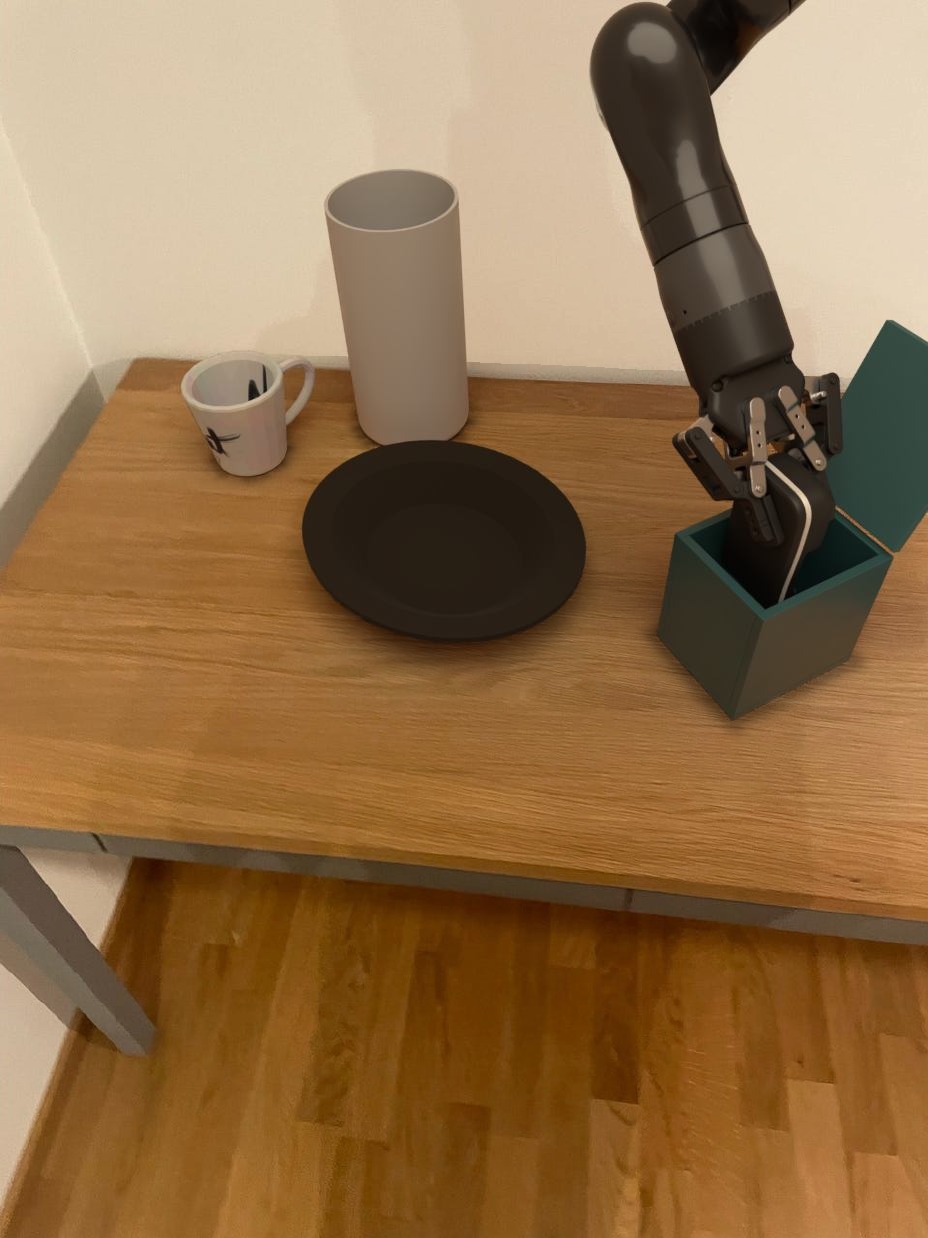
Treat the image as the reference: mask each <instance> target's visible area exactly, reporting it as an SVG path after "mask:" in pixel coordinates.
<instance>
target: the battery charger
mask: <svg viewBox="0 0 928 1238" xmlns="http://www.w3.org/2000/svg"><path fill="white" fill-rule="evenodd" d="M765 475H766V485H767V492H766V494H765V496H766V495H771V497H772V500H773V503H774V506H775V509H776V512H777V514H778V517H779V520H780V523H781V526H782V529H783V532H784V535H785V539H786V540H785V543H783V544H781V545H779V546H777V547H770V548H763V547H762V546H761V545H760V543H756V542H755V541H754V539H753V538H752V536H751V533H750V530H749V527H748V524H747V522H746V519H745V516H744V513H743V510H742V507H741V505H740V504H739V503H738V502H736V501H732V505H731V508H732V510H731V515H730V520H729V526H728V531H727V536H726V540H725V544H724V548H723V552H722V556H721V563H722V564H723V565H724V566H725V567H726V568H727V569H728V570H729V572H730V573H731V574H732V575H733V576H734V577H735V578H736V579H737V580H738V581H739V583H740V584H741V585H742V586H743V587H744V588H745V589H746V590H747V591H748V592H749V593H750V594H751V595H752V596H753V597H754V598H755V599H756V600H757V602H758V603H759V604H760V605H761V606H762V607H763V608H764V609H765V610H766V609H768V608H770V607H772V606H774V605H776V604H778V603H780V602H782V601H784V600H786V599H788V598H790V597H792V596H795V595H796V590H795V588H794V582H795V579H796V577H797V574H798V572H799V570H800V567H801V565H802V562H803V560H804V557H805V556H806V555H807V553H808V552H811V551H813V550H815V549H817V548H819V547H820V545H821V544H822V542H823V539H824V536H825V534H826V531H827V527H828V524H829V521H830V517H831V514H832V509H833V498H832V494H831V493H830V491H829V489H828V488H827V487H826V486H825V485H824V484H823V483H822V482H821V481H819V480H818V479H817V478H816V477H815V476H814V475H813V474H812V473H811V472H810V471H809V470H808V469H806V468H805V467H804V466H803V465H802V464H800V463H799V462H798V461H797V460H796V459H795V458H793V457H792V456H791V455H789V454H788V453H784V452H777V451H776V452H774V453H773V452H772V453H770V454H768V460H767V462H766V463H765Z"/></svg>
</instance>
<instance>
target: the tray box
mask: <svg viewBox="0 0 928 1238" xmlns="http://www.w3.org/2000/svg"><path fill="white" fill-rule="evenodd" d="M731 510H732V507H730V508H728V509H726V510H724V511H721V512H719V513H717V514H715V515H712V516H710V517H708V518H706V519H703V520H701V521H699V522H696V523H694V524H692V525H690V526H687V527H684V528H683V529H680V530H679V531H676V532H675V533H674V537H673V542H672V548H671V553H670V558H669V559H670V560H669V565H668V571H667V576H666V582H665V588H664V592H663V597H662V598H663V599H662V602H661V603H662V604H661V608H660V609H661V610H660V616H659V620H658V627H657V631H656V636H657V638H658V639H659V640H660V641H661V642H662V643H663V644H664V645H665V647H666V648H668V650H669V651H670V652H671V653H672V654H673V655H674V657H675V658H676V659H677V660H678V661H679V662H680V663H681V665H682V666H683V667H684V668H685V669H686V670H687V671H688V672H689V674H690V675H691V676H692V677H693V678H694V679H695V680H696V681H697V682H698V683H699V685H700V686H701V687H702V688H703V689H704V690H705V691H706V693H708V695H709V696H710V697H711V698H712V700H714V702H715V703H716V704H717V705H718V706H719V707H720V708H721V709H722V711H724V713H725V714H726V715H727V716H728V717H729V718H730V720H732V721H734V720H736V719H738V718H740V717H742V716H744V715H746V714H748V713H750V712H752V711H754V710H756V709H757V708H760V707H761V706H763V705H765V704H767V703H769V702H771V701H773V700H775V699H777V698H778V697H779V698H780V697H781V696H782V695H784V694H786V693H788V692H790V691H793V690H794V689H796V688H798V687H800V686H801V685H804V684H805V683H808V682H810V681H812V680H814V679H816V678H817V677H819V676H821V675H823V674H825V673H827V672H829V671H831V670H833V669H835V668H836V667H839V666H840V665H843V664H844V663H846V662H848V661H850V658H851V656H852V654H853V651H854V649H855V647H856V645H857V643H858V641H859V638H860V636H861V633H862V631H863V629H864V626H865V625H866V622H867V619H868V617H869V615H870V613H871V611H872V609H873V606H874V604H875V601H876V600H877V598H878V595H879V593H880V591H881V588H882V586H883V584H884V582H885V579H886V576H887V574H888V572H889V570H890V567H891V565H892V564H893V561H894V558H895V557H894V555H892V554H891V552H889V551H887V550H886V549H885V548H884V547H883V546H881V544H879V543H878V542H877V541H876V540H874V539H873V538H872V537H871V536H869V535H868V534H867V533H866V532H865V531H863V530H862V529H861V528H860V527H858V526H857V525H856V524H855V523H854V522H852V521H851V520H850V519H849V518H848V517H846V516H845V515H844V514H843V513H842V512H840V511H839V510H838V509H837V508H836V511H834V514H835V519H834V520H833V521H831V522H829V524H828V527H827V531H826V534H825V536H824V539H823V542H822V544H821V545H820V547H819V548H817V549H815V550H813V551H811V552H808V553H807V555H806V556H805V557H804V560H803V562H802V565H801V567H800V570H799V572H798V574H797V577H796V579H795V582H794V588H795V590H796V595H795V596H792V597H790V598H788V599H786V600H784V601H782V602H780V603H778V604H776V605H774V606H772V607H770V608H768V609H766V610H765V609H764V608H763V607H762V606H761V605H760V604H759V603H758V602H757V600H756V599H755V598H754V597H753V596H752V595H751V594H750V593H749V592H748V591H747V590H746V589H745V588H744V587H743V586H742V585H741V584H740V583H739V581H738V580H737V579H736V578H735V577H734V576H733V575H732V574H731V573H730V572H729V570H728V569H727V568H726V567H725V566H724V565H723V564H722V563H721V556H722V552H723V548H724V544H725V540H726V536H727V531H728V526H729V520H730V515H731Z"/></svg>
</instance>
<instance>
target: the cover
mask: <svg viewBox="0 0 928 1238" xmlns="http://www.w3.org/2000/svg"><path fill="white" fill-rule="evenodd" d="M841 415H842V435H843V450H842V452H841V453H840V454H837V455H834V456H833V457H832V458H831V459H830V460H829V461H828V462H827V466H826V468H825V474H826V477H827V480H828V483H829V486H830V489H831V492H832V495H833V497H834V500H835V503H836V508H838V509H840V510H841V511H842V513H844V514H845V515H847V516H848V517H849V518H850V519H852V520H853V521H854V522H855V523H856V524H858V526H859V527H861V528H863V529H864V530H865V531H866V532H868V533H869V534H870V535H871V536H872V537H874V538H875V539H876V540H877V541H878V542H880V543H881V544H882V545H883V546H884V547H885V548H887V549H888V550H889V551H890V552H892V553H893V554H896V553H899V552H901V551H902V549H903V548H904V546H905V545H906V543H907V541H908V540H909V539H910V537H911V536H912V534H913V533H914V532H915V530H916V529H917V528H918V526H919V525H920V523H921V522H922V520H923V519H924V517H925V516H926V515H927V513H928V341H927V340H926V339H924V338H922V337H921V336H919V335H918V334H916V333H914V332H913V331H911V330H910V329H908V328H907V327H905V326H903V325H902V324H901V323H899V322H898V321H895V320H893V319H886V320H885V321H884V323H883V325H882V327H881V329H880V330H879V332H878V334H877V335H876V337H875V339H874V341H873V342H872V344H871V346H870V348H869V349H868V351H867V352H866V354H865V356H864V358H863V360H862V362H861V363H860V365H859V366H858V367H857V370H856V372H855V373H854V375H853V377H852V378H851V380H850V382H849V384H848V386H847V387H846V389H845V391H844V393H843V395H842V396H841ZM824 440H825V433H824Z"/></svg>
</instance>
